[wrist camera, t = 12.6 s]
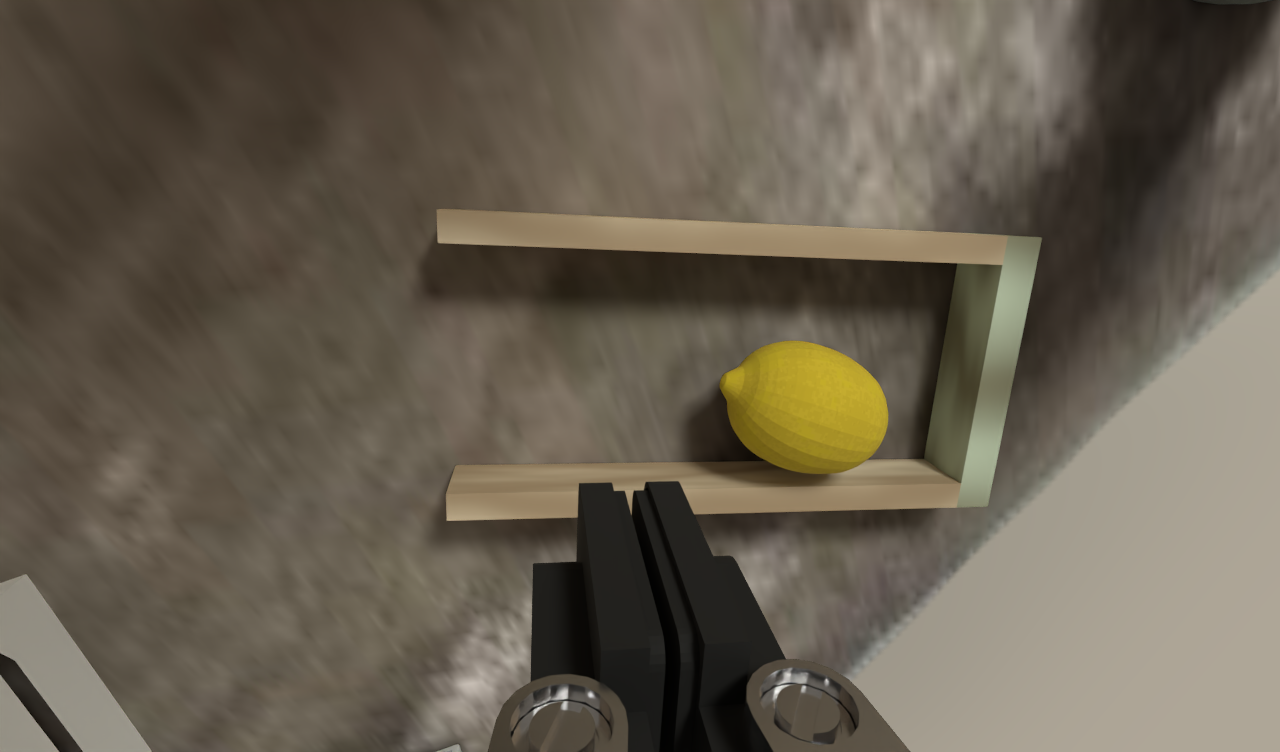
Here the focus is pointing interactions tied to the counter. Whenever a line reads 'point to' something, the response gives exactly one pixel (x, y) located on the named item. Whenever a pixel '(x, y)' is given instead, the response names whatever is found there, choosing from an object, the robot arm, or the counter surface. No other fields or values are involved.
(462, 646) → the counter surface
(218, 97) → the counter surface
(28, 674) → the grater
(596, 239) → the wooden frame
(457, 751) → the medicine box
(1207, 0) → the bottle
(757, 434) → the lemon
